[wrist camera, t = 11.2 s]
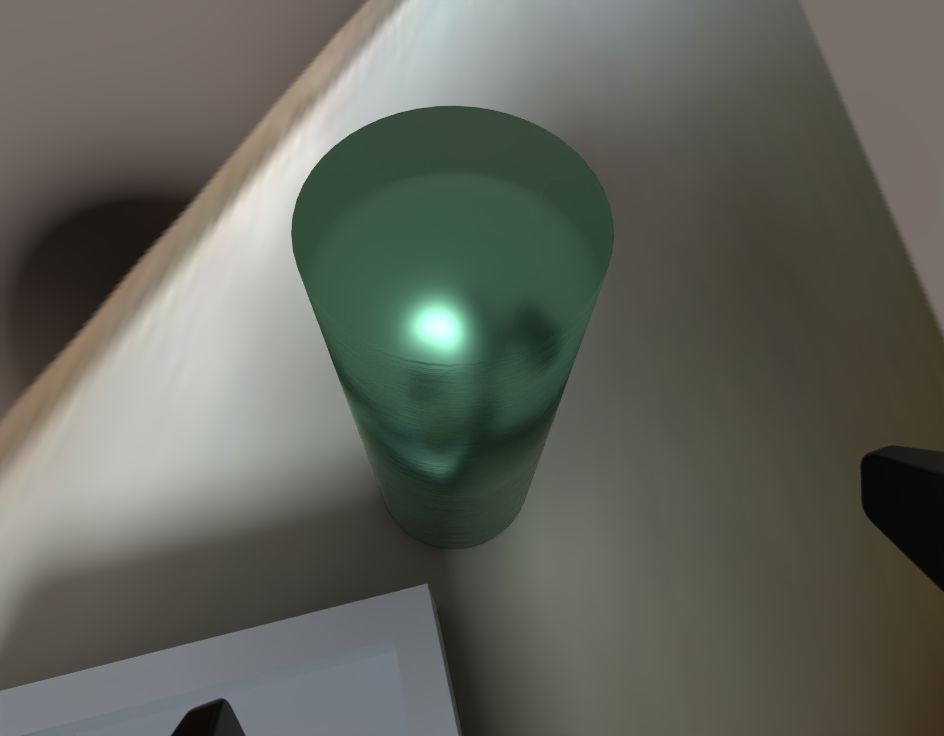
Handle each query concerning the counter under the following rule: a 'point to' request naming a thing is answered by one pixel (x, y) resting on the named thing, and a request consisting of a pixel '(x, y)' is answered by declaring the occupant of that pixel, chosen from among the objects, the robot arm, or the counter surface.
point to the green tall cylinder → (452, 303)
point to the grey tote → (267, 679)
